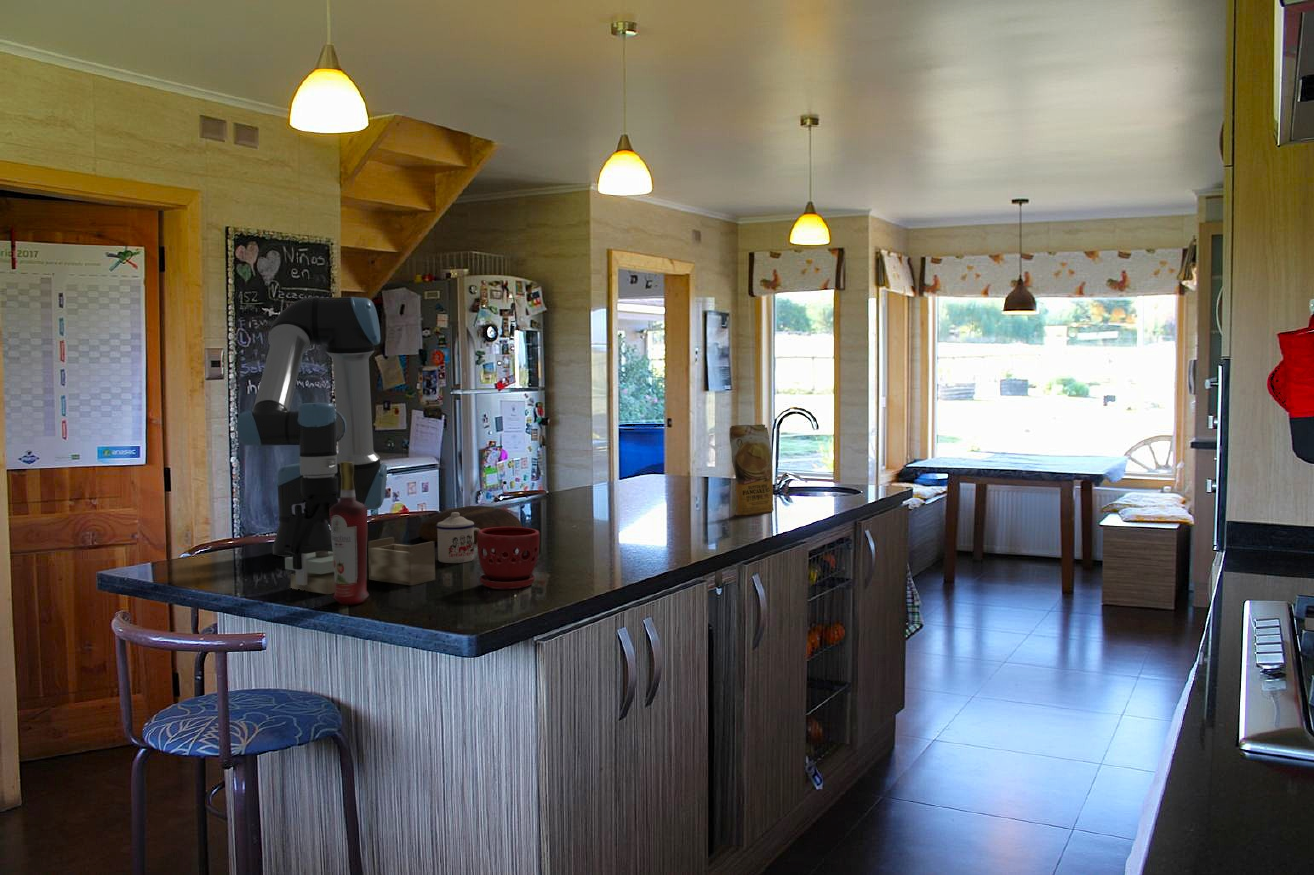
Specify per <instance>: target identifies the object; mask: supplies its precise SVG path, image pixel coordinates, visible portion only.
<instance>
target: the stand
mask: <svg viewBox="0 0 1314 875" xmlns="http://www.w3.org/2000/svg"><path fill="white" fill-rule="evenodd" d="M289 577H290V589H291V588H292V590H298V589H300V590H299V591H304V590H305V592H311V593H318V594H324V595H331V594H335V577H334V572H330V573H325V574H315V573H308V572H307V585H299V584H296V572H295V573H290V574H289Z"/></svg>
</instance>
